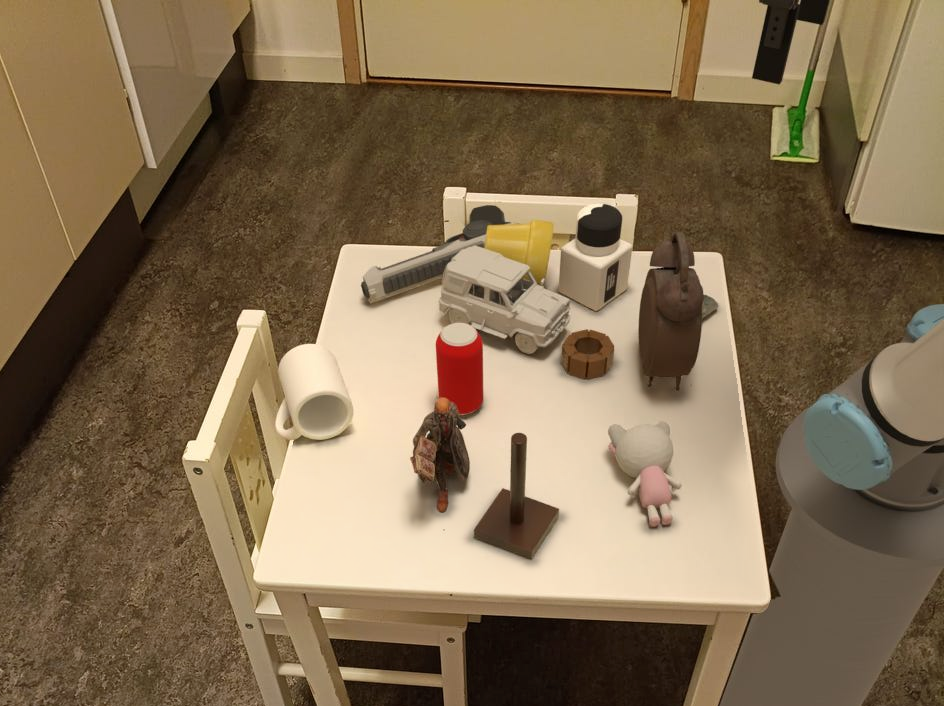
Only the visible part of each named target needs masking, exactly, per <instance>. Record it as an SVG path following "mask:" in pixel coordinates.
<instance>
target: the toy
mask: <svg viewBox="0 0 944 706" xmlns="http://www.w3.org/2000/svg"><path fill="white" fill-rule="evenodd" d="M607 435H608V436H609V439H610V442H609V444H608V450H609V451H610V453H611V454H612V455H615V459H616V461H617V464H618V467H619V468H620V469H621V470H622V471H623V472H624V473H625V474H626V475H628V476H629V477H632V478H635V480H634V482H633V483H632V484H631V485H630V486H629V488H628V489H627V495H628V496H630V497H631V498H635V497H636V492H637V490H638V496H639V497H638V498H639V500H640V504H641V506H642V507H643V508H644V509H647V515H648V520H649V526H650V527H653V528H654V527H657V526H659V524H662V525H663V526H666V525H670V524H671V523H672V522H673V515H672V513H671V510H670V508H669V505H670V504H671V502H672V493H675V492H676V490H677V491H679V490H681V488H682V483H681V482H680V480H678V479H677V478H674V477H673V476H671V475H669V474H668V473H665V471H666V470H667V469H668V468H669V466H670V465H671V462H672V460H673V457H674V446H673V442H672V439H671V427H670V424H669V423H668V422H666V421H659V422H658V423H656V424H655V425H653V424H647V423H643V424H638V425H633V426H632V427H630V428H628V429H627V430H626V429H625V428H623V427H622V426H621V425H619V424H617V423H613V424H612V425H610V426H609V427H608V429H607ZM657 509H659V512H660V516H661V518H660V516H659V513H658V511H657Z"/></svg>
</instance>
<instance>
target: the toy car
mask: <svg viewBox="0 0 944 706" xmlns="http://www.w3.org/2000/svg"><path fill="white" fill-rule="evenodd" d="M529 269H530V267H529V266H528V265H526V264H523V263H520V262H517V261H514V260H511V259H508V258H505V257H504V256H502V255H501V254H500V253H497V252H493V251H490V250H487V249H484V248H481V247H478V246H475V245H474V246H473V247H468V248H466V249H462V250H461V251H460V252H459V253H458V254H457V255H456V256H454V257H453V258H452V259H451V262H449V263H448V264H447V266H446V267H445V270H444V273H443V278H441V285H442V286H441V290H440V294H441V296H440V297H439V299H438V303H439V304H438V305H439V307H438V308H439V311H440V312H441V313H443V314H444V315H446V314H447V313H448V318H449V321H450V323H451V324H453V323H465V324H469V325H471V326H473V327H474V328H475V329H476V330H480V331H481V332H484V333H487V334H490V335H492V336H495V337H498V338H501V339H502V340H503V339H504V340H506V338H507V337H510V338H512V337H513V336H514V335H515V334H516V335H515V337H514V339H515V341H514V342H515V345H516V346H517V348H518V349H519V351H521V352H522V353H524V354H528V355H531V354H534V353H535V352H536V351H537V349H539V348H540V347H541V348H546V347H548V346H550V345H551V344H552V343H553V342H554V341H555V340H556V338H557V337H558V336H559V335H560V334H561V333H562V332H563V331H564V330H565V328H566V327H568V325H569V323H570V321H571V318H572V317H571V314H570V310H571V308H572V307H571V305H570V304H571V300H570V298H569V297H567V296H565V295H563V294H562V295H561V294H560V293H557V292H554V291H552V290H549V289H546V288H545V286H544V287H543V286H542V285H543V284H544V285H545V282H544V278H543V279H542V280H541V286H539V285H537V283H536V281H537V280H536V281H535V279H534V278H533V276H532V274H531V273H530V271H529ZM526 273H527V275H528V277H529V279H530V280H531V281H529V280H525V279H522V278H523V276H524V277H525V274H526ZM533 273H534V272H533ZM535 278H536V277H535Z"/></svg>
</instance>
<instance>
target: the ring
mask: <svg viewBox="0 0 944 706" xmlns="http://www.w3.org/2000/svg"><path fill="white" fill-rule="evenodd" d="M614 355H615V344H614V343H613V341H612V340H611V338H610V336H609V335H607V333H603V332H601V331H597V330H593V329H583V330H578V331H573V332H571V333H569V334H568V335H567V337H566V338H565V340H564V341H563V342H562V343H561V356H560V357H561V359H560V363H561V365H562V367H563V368H564V371H565V372H566V373H567V374H568V375H570V376H573V377H576V378H579V379H582V380H586V379H587V380H591V379H595V378H596V379H597V378H600V377H604V375H606V374H607V373H608V372H609V370H610V369H611V367H612V366H613V363H614V362H613V361H614Z"/></svg>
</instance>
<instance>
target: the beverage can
mask: <svg viewBox="0 0 944 706" xmlns="http://www.w3.org/2000/svg"><path fill="white" fill-rule="evenodd" d="M435 340H436V341H435V357H436V358H435V360H436V374H437V389H438V391H437V393H438V399H439V398H446V399H448V400H449V401H450V402H453V403H454V404H455V405H456V406H457V409H458V410H459V414H458V416H464V415H469V414H472V413H474V412H476V411H478V409H479V408H481V406H482V404H483V402H484V343H483V338H482V336H481V335H480V333H479V332H478V329H476V328H474V327H473V326H471V324H470V325H469V324H465V323H453V324H452V323H449V324H448V325H445V326H444V327H443V328H442V329H441V330H440V332H439V334H438V335H437V338H436V339H435Z"/></svg>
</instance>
